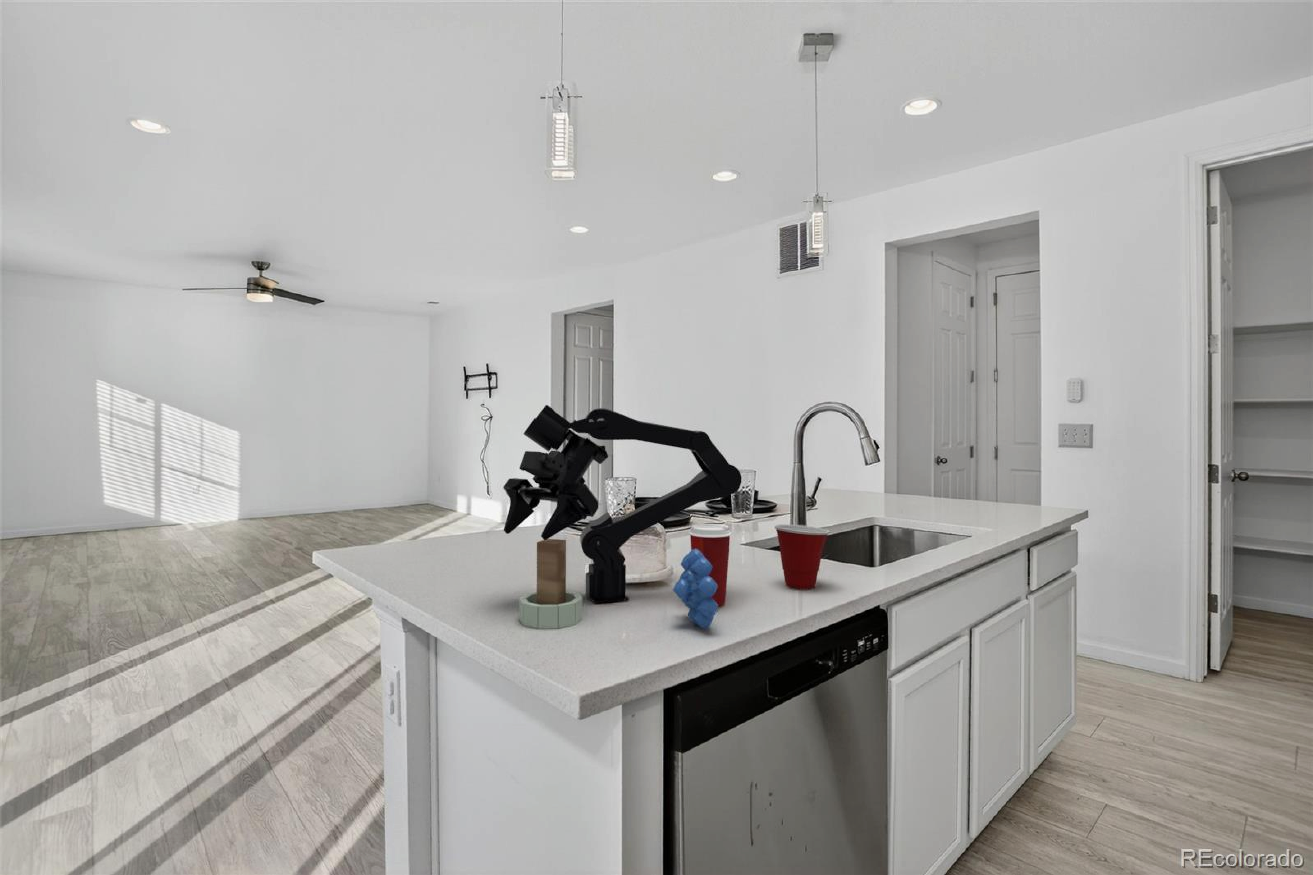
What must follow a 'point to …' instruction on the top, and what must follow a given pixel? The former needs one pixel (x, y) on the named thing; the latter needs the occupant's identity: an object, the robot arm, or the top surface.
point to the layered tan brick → (551, 572)
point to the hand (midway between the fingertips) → (523, 535)
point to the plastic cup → (800, 553)
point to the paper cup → (714, 553)
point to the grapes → (697, 588)
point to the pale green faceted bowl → (550, 612)
